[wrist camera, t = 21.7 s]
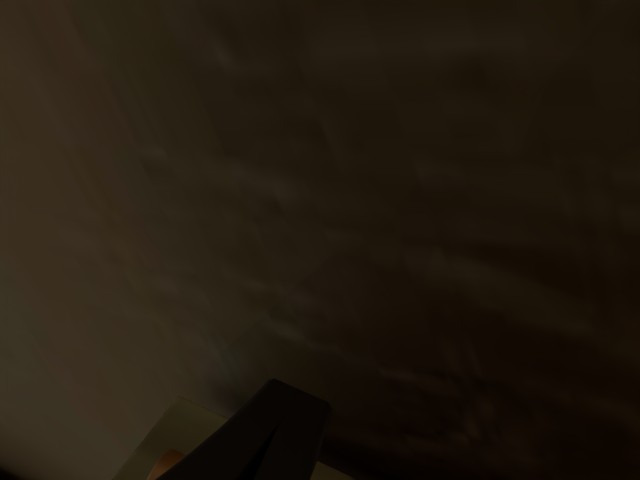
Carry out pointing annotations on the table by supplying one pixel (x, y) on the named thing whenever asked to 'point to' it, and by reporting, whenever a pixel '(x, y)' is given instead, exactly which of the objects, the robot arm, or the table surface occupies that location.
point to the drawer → (186, 443)
